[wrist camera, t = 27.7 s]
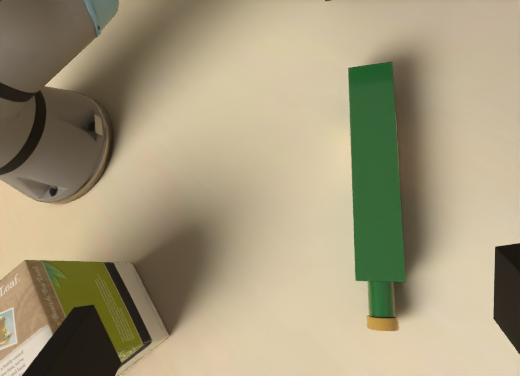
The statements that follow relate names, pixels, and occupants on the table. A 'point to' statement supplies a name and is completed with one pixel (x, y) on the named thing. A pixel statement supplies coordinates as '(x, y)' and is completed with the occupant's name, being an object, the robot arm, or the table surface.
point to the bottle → (376, 190)
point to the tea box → (65, 299)
